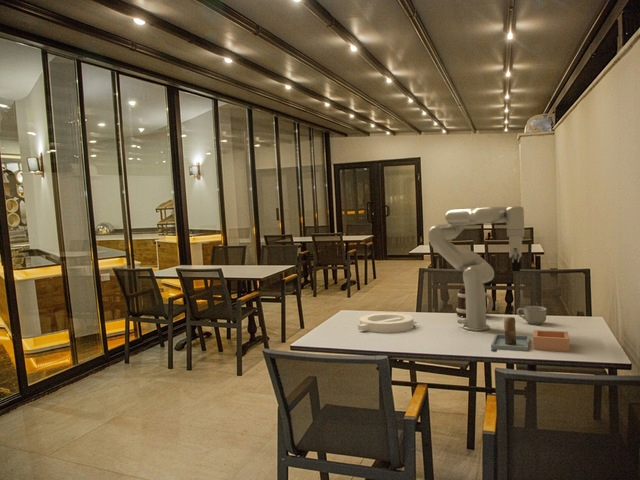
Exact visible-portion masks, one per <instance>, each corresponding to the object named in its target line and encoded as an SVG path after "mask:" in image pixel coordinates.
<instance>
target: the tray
mask: <svg viewBox="0 0 640 480" xmlns="http://www.w3.org/2000/svg"><path fill="white" fill-rule="evenodd" d="M529 345H530V335H517V334H516V344H515V345H507V344H505V334H499V333H497V334H496V333H495V334H494V337H493V340H492V342H491V345H490V350H491V351H490V352H498V350H504V351H508V350H509V351H522V352H523V351H524V352H528V351H529Z"/></svg>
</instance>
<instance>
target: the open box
mask: <svg viewBox="0 0 640 480" xmlns="http://www.w3.org/2000/svg"><path fill="white" fill-rule="evenodd" d="M532 339H533V340H532V342H533V343H532V344H533V346H532V347H533V350H538V351H552V352H553V351H554V352H555V351H556V352H570V337H569V331H564V330H563V331H561V330H559V331H558V330H542V329H540V330H539V329H533V333H532Z"/></svg>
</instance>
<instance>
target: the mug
mask: <svg viewBox="0 0 640 480" xmlns="http://www.w3.org/2000/svg"><path fill="white" fill-rule="evenodd" d="M485 298H487V299H488V303H489V304H488V307H486V313H487V312H490V311H491V310H492V309H493V307H494V301H493V297H492V295H490V294H489V293H487V292H485ZM456 315H457V316H458V315H459V316H463V317H462V318H464V317H466V297H465V287H464V288H460V289H459V290H458V293H457V306H456ZM459 316H458V317H459Z"/></svg>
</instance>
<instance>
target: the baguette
mask: <svg viewBox="0 0 640 480" xmlns="http://www.w3.org/2000/svg"><path fill="white" fill-rule="evenodd" d="M503 324H504V325H503V326H504V328H503V329H504V335H505V344H507V345H515V344H516V335H517V332H516V317H513V316H505V317H503Z"/></svg>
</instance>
